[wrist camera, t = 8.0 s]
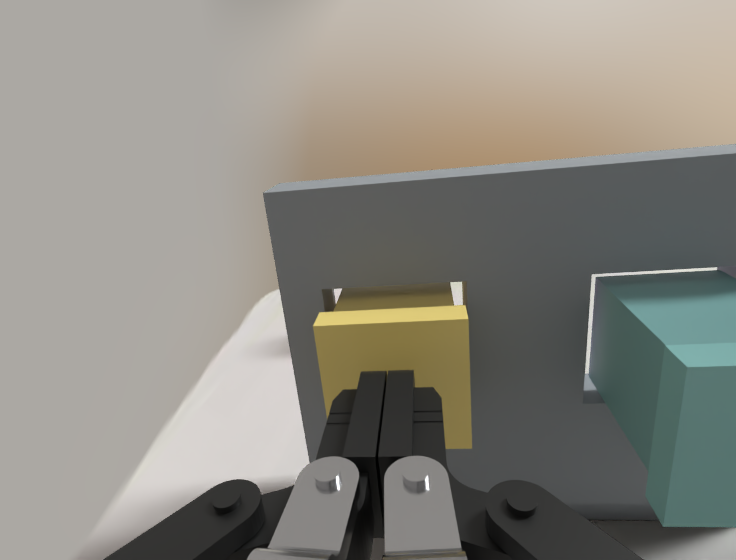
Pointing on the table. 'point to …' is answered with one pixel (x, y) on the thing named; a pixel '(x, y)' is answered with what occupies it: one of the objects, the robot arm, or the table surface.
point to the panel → (510, 292)
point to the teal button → (673, 386)
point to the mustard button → (400, 346)
